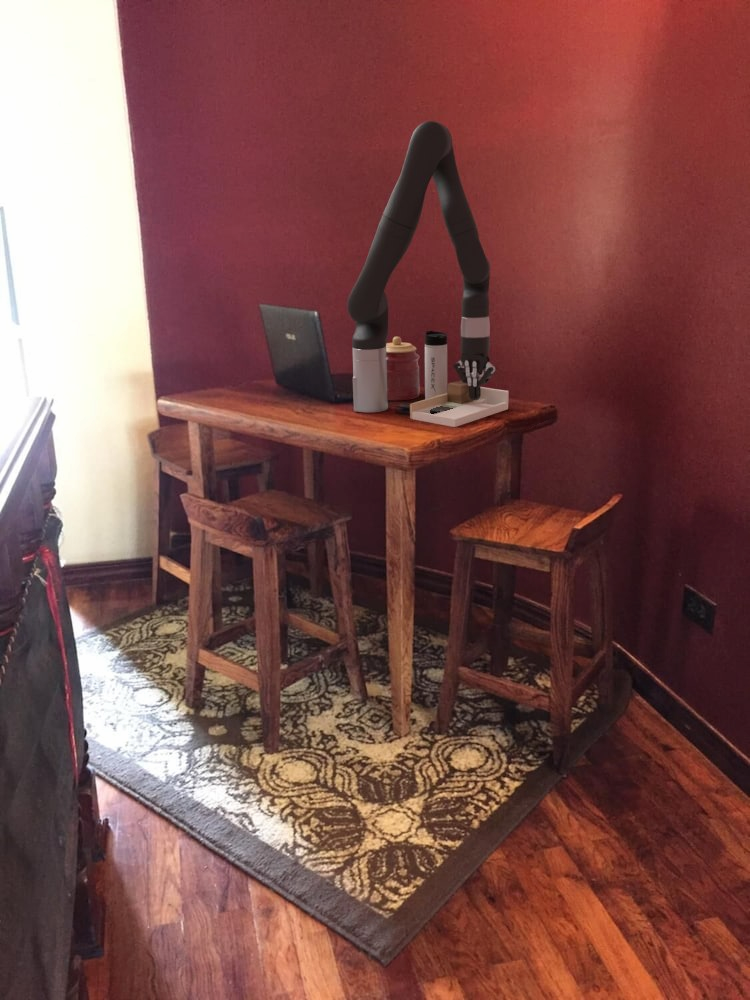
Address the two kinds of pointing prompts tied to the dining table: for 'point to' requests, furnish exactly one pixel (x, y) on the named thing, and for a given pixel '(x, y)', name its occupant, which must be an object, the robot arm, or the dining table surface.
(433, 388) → the travel mug
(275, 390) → the dining table surface
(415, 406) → the tray
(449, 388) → the block
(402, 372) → the canister
